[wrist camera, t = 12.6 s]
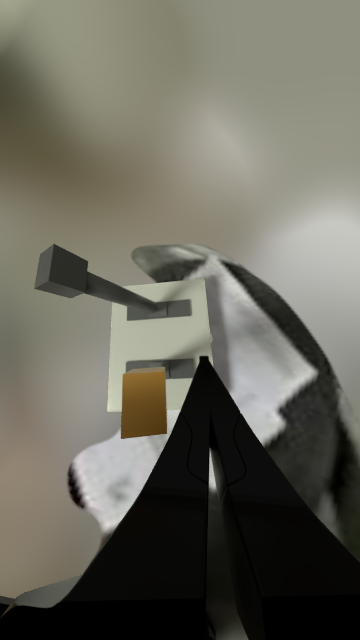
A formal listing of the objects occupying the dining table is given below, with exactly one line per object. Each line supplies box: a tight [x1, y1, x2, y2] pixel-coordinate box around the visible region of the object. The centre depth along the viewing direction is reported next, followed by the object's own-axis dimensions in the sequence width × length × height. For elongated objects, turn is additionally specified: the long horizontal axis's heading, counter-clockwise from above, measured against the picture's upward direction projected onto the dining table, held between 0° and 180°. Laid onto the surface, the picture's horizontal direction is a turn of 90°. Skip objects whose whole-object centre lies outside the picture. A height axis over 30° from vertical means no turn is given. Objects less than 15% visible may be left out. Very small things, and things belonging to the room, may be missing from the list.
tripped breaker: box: [121, 364, 167, 439], centre depth 11 cm, size 2×2×11 cm
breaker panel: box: [34, 244, 214, 412], centre depth 14 cm, size 16×13×14 cm
